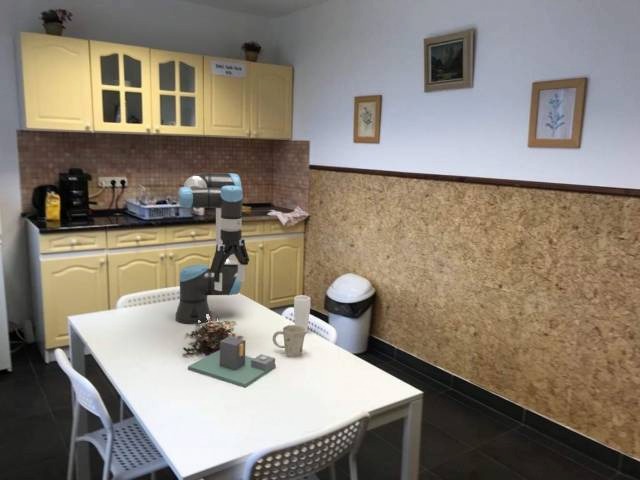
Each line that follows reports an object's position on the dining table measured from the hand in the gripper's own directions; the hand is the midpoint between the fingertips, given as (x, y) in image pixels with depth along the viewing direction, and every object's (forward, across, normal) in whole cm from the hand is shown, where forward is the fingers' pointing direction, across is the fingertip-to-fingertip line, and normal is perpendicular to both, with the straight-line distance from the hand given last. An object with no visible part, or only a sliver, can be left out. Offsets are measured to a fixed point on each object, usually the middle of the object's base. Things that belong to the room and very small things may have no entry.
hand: (230, 285), depth 190 cm
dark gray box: (+23, -13, -12) cm, 29 cm away
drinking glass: (+26, +31, -14) cm, 42 cm away
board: (+24, -13, -12) cm, 30 cm away
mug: (+25, +9, -21) cm, 34 cm away
